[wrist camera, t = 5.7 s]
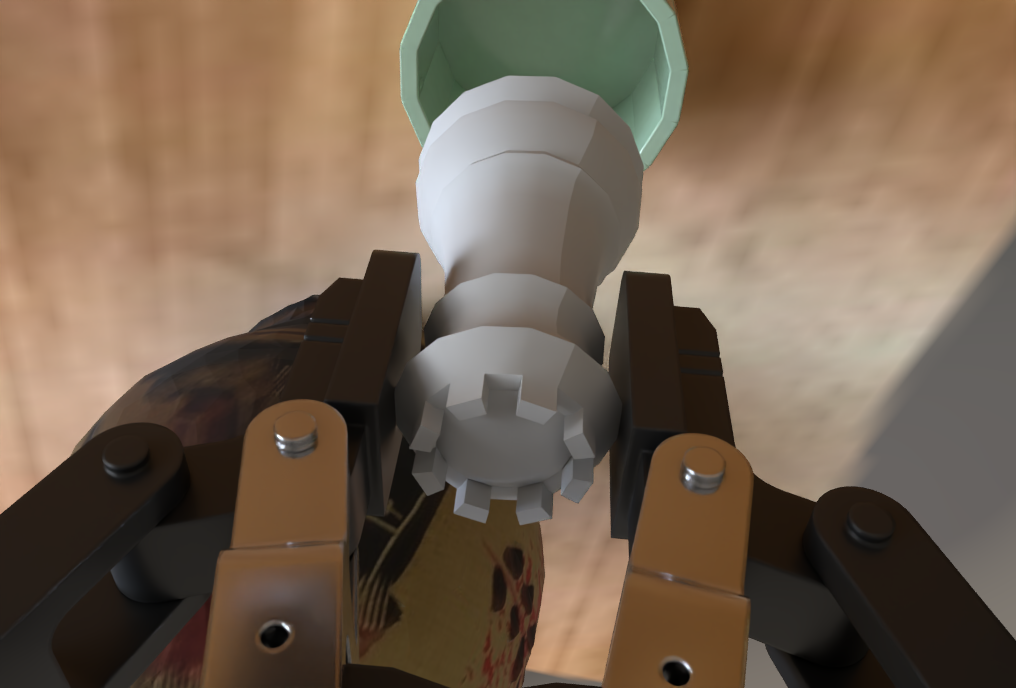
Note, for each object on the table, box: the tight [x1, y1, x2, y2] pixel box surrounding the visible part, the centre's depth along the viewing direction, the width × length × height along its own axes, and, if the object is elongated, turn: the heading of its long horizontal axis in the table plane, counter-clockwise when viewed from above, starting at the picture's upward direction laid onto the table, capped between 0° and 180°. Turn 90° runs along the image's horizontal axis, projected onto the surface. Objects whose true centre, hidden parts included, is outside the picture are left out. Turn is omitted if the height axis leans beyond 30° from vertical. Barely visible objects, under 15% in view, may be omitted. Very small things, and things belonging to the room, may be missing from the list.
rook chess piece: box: [394, 76, 644, 525], centre depth 15 cm, size 4×4×8 cm
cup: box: [400, 0, 689, 171], centre depth 23 cm, size 7×7×4 cm
